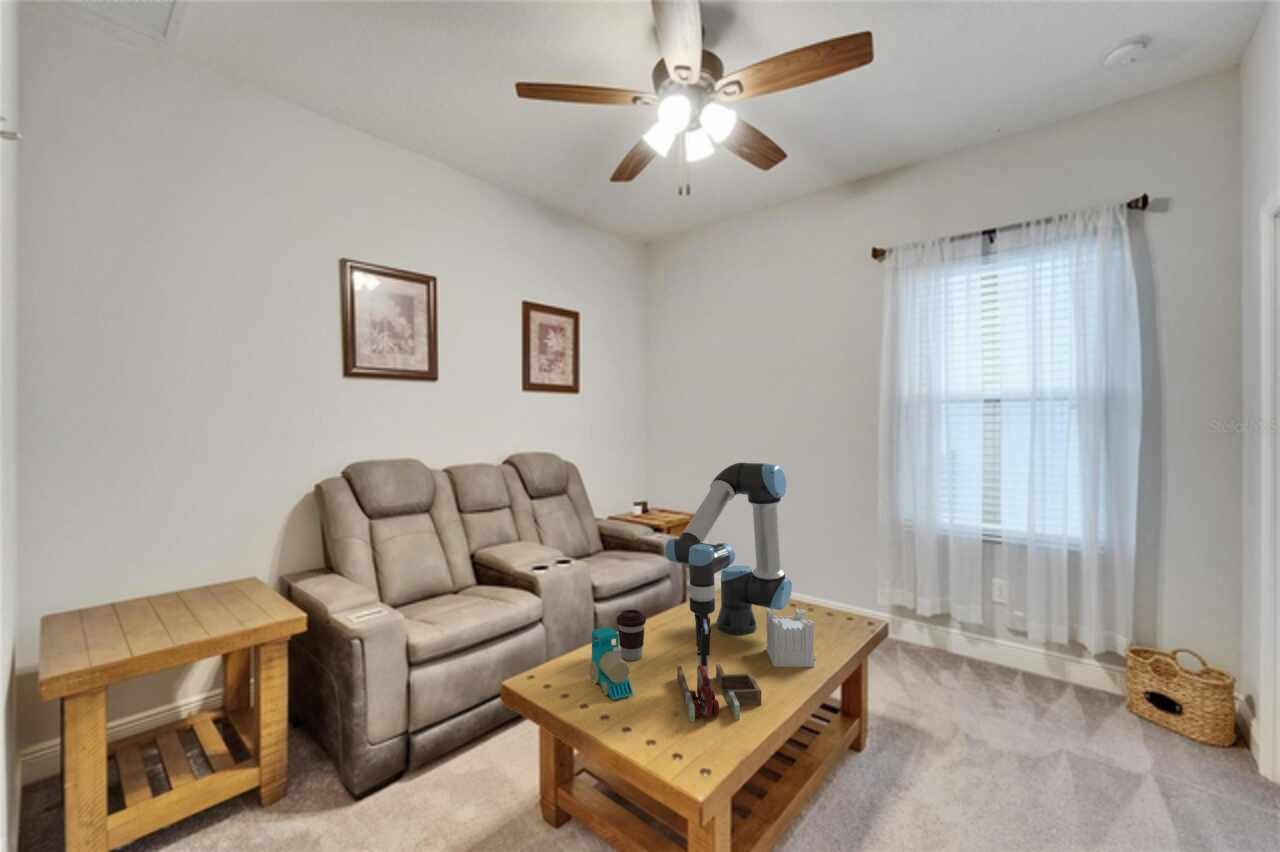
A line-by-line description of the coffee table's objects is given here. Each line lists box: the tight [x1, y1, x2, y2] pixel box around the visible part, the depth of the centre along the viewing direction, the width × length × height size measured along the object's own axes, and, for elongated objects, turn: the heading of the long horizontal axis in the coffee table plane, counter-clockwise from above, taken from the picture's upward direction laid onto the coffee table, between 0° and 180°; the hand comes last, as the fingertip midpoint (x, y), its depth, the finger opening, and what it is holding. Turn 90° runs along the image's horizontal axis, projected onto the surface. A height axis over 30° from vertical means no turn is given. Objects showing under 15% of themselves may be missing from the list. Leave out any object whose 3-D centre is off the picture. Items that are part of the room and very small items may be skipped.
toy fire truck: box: [689, 665, 720, 718], centre depth 150 cm, size 7×12×10 cm, turn 5°
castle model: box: [765, 608, 817, 668], centre depth 182 cm, size 13×15×14 cm
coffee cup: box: [616, 609, 647, 662], centre depth 184 cm, size 10×10×15 cm
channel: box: [676, 664, 741, 723], centre depth 157 cm, size 24×13×4 cm, turn 4°
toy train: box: [589, 626, 634, 700], centre depth 164 cm, size 8×17×15 cm, turn 26°
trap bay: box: [721, 673, 762, 707], centre depth 158 cm, size 10×9×4 cm
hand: (703, 674), depth 163 cm, fingers closed
